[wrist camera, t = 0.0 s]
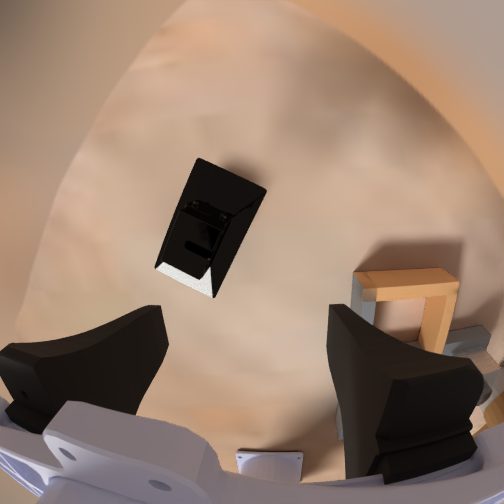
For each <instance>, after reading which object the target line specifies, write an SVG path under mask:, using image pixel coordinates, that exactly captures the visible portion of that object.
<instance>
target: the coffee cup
mask: <svg viewBox="0 0 504 504" xmlns="http://www.w3.org/2000/svg"><path fill="white" fill-rule="evenodd" d="M479 407H480V409H481V411H482V413H483V415H484V418H485V420H486V423H487V425H488V427H489V428H491V427H493V426H496V425H498V424H500V423H502V422H504V366H503V367H501V371H500V373H499V375H498V377H497V380H496V382H495V384H494V386H493V388H492V394H491V396H490V397H489V399H488V400H487V401H486V402H484V403H483V404H481V405H479Z"/></svg>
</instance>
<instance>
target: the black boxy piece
mask: <svg viewBox="0 0 504 504" xmlns="http://www.w3.org/2000/svg"><path fill="white" fill-rule="evenodd" d="M266 192H267V190H266V189H265V188H263V187H261V186H259V185H257V184H255V183H253V182H250V181H248V180H246V179H244V178H242V177H240V176H238V175H236V174H234V173H232V172H229V171H227V170H225V169H223V168H221V167H219V166H216V165H214V164H212V163H210V162H208V161H205V160H203V159H201V158H197V160H196V162H195V164H194V166H193V169H192V171H191V173H190V176H189V178H188V180H187V183H186V185H185V188H184V190H183V192H182V195H181V197H180V200H179V202H178V205H177V207H176V210H175V212H174V215H173V218H172V220H171V223H170V225H169V228H168V231H167V233H166V236H165V239H164V241H163V244H162V247H161V250H160V253H159V255H158V258H157V261H156V264H155V269H156V270H158V271H160V272H162V273H164V274H166V275H168V276H169V277H171V278H173V279H175V280H177V281H179V282H181V283H183V284H185V285H187V286H189V287H191V288H193V289H195V290H197V291H199V292H201V293H203V294H206V295H208V296H210V297H212V298H215V297H216V295H217V293H218V291H219V288H220V286H221V284H222V282H223V280H224V278H225V276H226V274H227V272H228V270H229V268H230V266H231V264H232V262H233V260H234V258H235V255H236V253H237V251H238V249H239V247H240V245H241V243H242V241H243V239H244V237H245V235H246V233H247V231H248V229H249V227H250V225H251V223H252V221H253V219H254V217H255V215H256V213H257V211H258V209H259V207H260V205H261V203H262V201H263V199H264V197H265V195H266Z"/></svg>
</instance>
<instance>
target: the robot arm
mask: <svg viewBox="0 0 504 504" xmlns="http://www.w3.org/2000/svg"><path fill="white" fill-rule="evenodd" d="M168 346H169V342H168V337H167V333H166V328H165V324H164V319H163V314H162V309H161V305H147V306H144V307H141V308H139V309H136V310H134V311H132V312H130V313H128V314H126V315H124V316H122V317H119V318H117V319H115V320H113V321H111V322H109V323H106V324H104V325H102V326H99V327H97V328H95V329H92V330H89V331H86V332H83V333H80V334H77V335H74V336H69V337H65V338H61V339H56V340H50V341H43V342H33V343H10V344H8V345H7V346H6V347H5V348H3V349H2V350H1V351H0V376H1V378H2V380H3V382H4V384H5V386H6V387H7V389H8V391H9V393H10V394H11V396H12V398H13V399H14V401H13V402H12V403H11V404H9V402H8V401H7V400H5V399H4V398H2V397H1V396H0V468H1V469H2V470H4V471H5V472H6V473H8V474H9V475H10V476H11V477H12V478H14V479H15V480H16V481H18V482H19V483H20V484H22V485H23V486H24V487H26V488H27V489H28V490H30V491H31V492H33V493H34V494H35V495H37V496H38V497H40V498H39V500H38V502H37V503H36V504H500V503H502V502H503V501H504V422H502V423H500V424H498V425H496V426H493V427H491V428H489V429H487V430H484V431H482V432H480V433H479V434H477V435H476V436H475V437H474V438H473V437H472V435H471V433H470V431H471V429H472V428H473V425H472V423H471V421H470V419H469V417H470V416H471V414H472V412H473V410H474V408H475V407H476V405H477V403H478V401H479V399H480V397H481V394H482V391H483V389H484V377H483V374H482V373H481V372H480V370H479V369H478V368H477V367H476V365H475V364H474V363H473V361H472V360H471V359H470V358H463V357H455V356H447V355H442V354H438V353H433V352H430V351H426V350H423V349H420V348H417V347H414V346H411V345H409V344H406V343H404V342H402V341H400V340H397V339H395V338H393V337H391V336H389V335H388V334H386V333H384V332H383V331H381V330H379V329H378V328H376V327H375V326H373V325H372V324H370V323H369V322H367V321H366V320H365V319H363V318H362V317H361V316H359V315H358V314H357V313H355V312H354V311H353V310H352V309H350V308H349V307H348V306H346V305H345V304H330V305H329V316H328V331H327V344H326V347H327V355H328V363H329V368H330V372H331V375H332V379H333V383H334V387H335V390H336V394H337V398H338V402H339V406H340V412H341V419H342V428H343V439H344V451H345V472H346V479H345V480H336V481H326V482H312V483H300V477H301V470H302V462H303V453H302V452H248V451H237V452H236V459H237V464H238V469H239V473H240V474H237V473H233V472H229V471H224V470H222V468H221V466H220V463H219V460H218V456H217V454H216V452H215V451H214V450H213V448H212V447H211V446H210V444H209V443H208V442H207V441H206V440H205V439H204V438H203V437H201V436H199V435H197V434H196V433H194V432H192V431H191V430H189V429H188V428H186V427H182V426H179V425H176V424H172V423H169V422H166V421H161V420H156V419H150V418H145V417H140V416H136V413H137V410H138V408H139V405H140V403H141V401H142V399H143V396H144V395H145V393H146V391H147V389H148V387H149V386H150V384H151V382H152V380H153V379H154V377H155V375H156V373H157V371H158V370H159V368H160V366H161V364H162V362H163V360H164V357H165V355H166V352H167V349H168Z"/></svg>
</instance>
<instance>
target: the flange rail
mask: <svg viewBox="0 0 504 504" xmlns="http://www.w3.org/2000/svg"><path fill="white" fill-rule="evenodd" d="M459 282H460V281H458V280H457V279H456V278H454V277H453V276H452V275H450V274H449V273H448V272H446V271H445V270H444V269H442V268H441V267H439V268H423V269H406V270H387V271H366V272H353V283H352V297H351V309H352V310H353V311H354V312H355V313H357V314H358V315H359V316H361V317H362V318H363V319H365V320H366V321H367V322H369V323H370V324H372V325H373V322H374V315H375V307H376V301H390V300H402V299H413V298H424V297H427V299H426V305H425V310H424V315H423V320H422V324H421V329H420V333H419V337H418V341H410V342H404V343H406V344H409V345H411V346H414V347H417V348H420V349H423V350H426V351H430V352H433V353H438V354H442V352H443V349H444V345H445V342H446V339H447V335H448V331H449V328H450V324H451V320H452V316H453V311H454V307H455V303H456V298H457V293H458V288H459ZM335 422H336V428H337V435H338V441H344V439H343V428H342V419H341V412H340V406H339V402H338V406H337V411H336V416H335Z"/></svg>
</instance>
